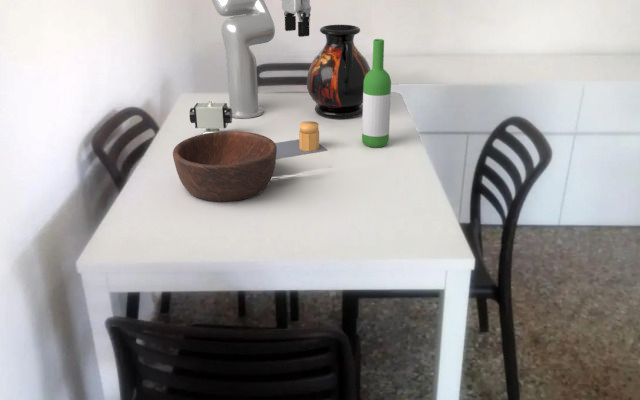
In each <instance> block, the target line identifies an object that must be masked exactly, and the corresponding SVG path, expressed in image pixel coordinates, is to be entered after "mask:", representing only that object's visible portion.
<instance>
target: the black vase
mask: <svg viewBox="0 0 640 400" xmlns="http://www.w3.org/2000/svg"><path fill="white" fill-rule="evenodd" d="M319 32H320V33H321V34H323V35H324V36H325V40H326V43H325V45H324V47H323V48H322V49H321V50H320V51H319V53H318V54H317V55H316V56H315V57H314V59H313V60H312V62H311V64H310V66H309V68H308V73H307V76H306V86H307V87H306V90H307V92H308V94H309V96H310V98H311V99H312V100H313V102H314V103H316V104H315V107H314V111H315V113H316V114H317V115H318V116H321V117H324V118H326V119H327V118H328V119H335V120H338V119H339V120H345V119H346V120H347V119H353V118H356V117H358V116H360V115H363V87H364V78H365V76H366V74H367V73H368V72H369V71H370V70H371V67H370V65H369V62H368V61H367V59H366V57H364V55H363V54H362V52H360V50H359V49H358V48H357V47H356V45H355V43H354V42H355V41H354V38H355V35H358V34H360V33H361V29H360V27H359V26H356V25H351V24H328V25H324V26H321V27H320V29H319Z"/></svg>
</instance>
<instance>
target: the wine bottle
mask: <svg viewBox="0 0 640 400" xmlns="http://www.w3.org/2000/svg"><path fill="white" fill-rule="evenodd" d="M372 43H373V44H372V45H373V46H372V48H373V49H372V65H371V66H372V67H371V68H370V71H369V72H368V73H367V74H366V76H365V78H364V87H363V103H362V106H363V113H362V120H361V122H362V124H361V125H362V126H361V127H362V128H361V132H362V133H361V141H362V143H363V145H364V146H366V147H369V148H382V147H385V146H387V145H388V144H389V138H390V123H391V122H390V119H391V118H390V117H391V116H390V115H391V99H392V98H391V97H392V96H391V95H392V94H391V93H392V80H391V77H390V74H389V73H388V72H387V71H386V70H385V69H384V60H385V59H384V54H385V40H384V39H382V38H376V39H373V42H372Z"/></svg>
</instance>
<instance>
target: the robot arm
mask: <svg viewBox="0 0 640 400" xmlns="http://www.w3.org/2000/svg"><path fill="white" fill-rule="evenodd" d="M211 2H212V5H213V6H214V8H215V11H216V12H217V13H218V15H220V16H222V17H228V18H226V19H225V20H224V21H223V22H222V24H221V25H222V26H221V37H222V41H223V45H224V50H225V57H226V58H225V59H226V67H227V70H226V71H227V83H228V84H227V85H228V99H229V103H228V104H229V106H228V108H231V109H232V118H234V119H235V118H236V119H250V118H256V117H259V116H261V115H263V113H264V108H263V107H262V106H260V105H259V96H258V95H259V92H258V67H257V59H256V58H257V57H256V55H255V54H254V53H253V51H252V50H251V48H250V46H255V45H261V44H266V43H269V42H271V41H272V40H273V39H274V37H275V33H276V29H275V23H274V21H273V18H272V15H271V13H270V11H269V9H268V6H267V4H266V2H265V0H211ZM281 9H282V11H284V12H283V15H284V30H285V31H286V32H291V31H292V32H293V31H296V30H297V35H298V37H299V38H301V37H302V38H303V37H309V36H310V21H311V10H312V6H311V0H281ZM296 16H297V18H298V22H297V18H296ZM296 22H297V23H296Z"/></svg>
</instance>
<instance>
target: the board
mask: <svg viewBox="0 0 640 400" xmlns="http://www.w3.org/2000/svg"><path fill="white" fill-rule="evenodd" d="M274 143H275V144H276V147H277V153H276V160H280V159H287V158H292V157H297V156H304V155H310V154H311V155H312V154H316V153H320V152H321V153H323V152H328V151H329V150H328V149H327V148H326V147H325V146H323V145H322V144H321V143H319V149H317V150H315V151H303V150H301V149H300V148H299V138H298V139H294V140H293V139H291V140H287V141H286V140H285V141H280V142H274Z"/></svg>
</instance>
